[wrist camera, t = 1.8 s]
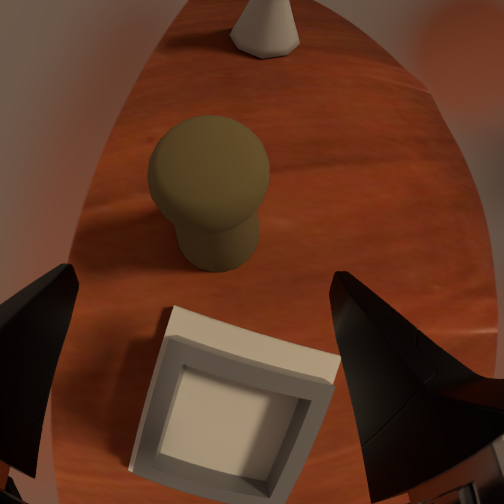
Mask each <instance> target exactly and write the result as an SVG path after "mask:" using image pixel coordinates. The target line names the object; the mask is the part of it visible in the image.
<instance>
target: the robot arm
mask: <svg viewBox="0 0 504 504" xmlns="http://www.w3.org/2000/svg"><path fill="white" fill-rule="evenodd" d="M78 290H79V282H78V279H77V276H76V273H75V270H74V267H73V266H72V265H71V264H60V265H59V266H57V267H56V268H54V269H52V270H51V271H49V272H48V273H46V274H44V275H43V276H41V277H40V278H38V279H37V280H35V281H34V282H32V283H31V284H29V285H28V286H26V287H25V288H23V289H22V290H20V291H19V292H18V293H16V294H15V295H14V296H12V297H11V298H9V299H8V300H6V301H5V302H4V303H2V304H1V305H0V504H28V503H26V502H24V501H23V500H22V498H21V496H20V494H19V492H18V490H17V488H16V486H15V484H14V481H13V479H12V478H11V477H9V476H8V474H9V469H10V467H12V468H13V469H15V470H17V471H19V472H21V473H23V474H25V475H27V476H29V477H32V478H35V476H36V468H37V460H38V459H37V458H38V452H39V445H40V439H41V433H42V426H43V421H44V416H45V411H46V407H47V402H48V398H49V393H50V389H51V385H52V381H53V377H54V374H55V370H56V366H57V363H58V359H59V356H60V353H61V349H62V346H63V343H64V340H65V337H66V334H67V331H68V328H69V324H70V321H71V317H72V313H73V309H74V305H75V301H76V297H77V293H78ZM329 298H330V304H331V311H332V318H333V325H334V331H335V337H336V341H337V345H338V349H339V352H340V356H341V360H342V364H343V368H344V372H345V376H346V381H347V385H348V389H349V393H350V397H351V402H352V406H353V411H354V415H355V420H356V424H357V429H358V434H359V439H360V444H361V447H362V448H361V449H362V455H363V460H364V465H365V471H366V476H367V482H368V488H369V494H370V500H371V503H372V504H373V503H377V502H380V501H383V500H387V499H390V498H393V497H396V496H399V495H402V494H405V493H408V495H409V500H410V503H407V504H504V379H493V378H486V377H483V376H480V375H478V374H476V373H474V372H473V371H472V370H470V369H469V368H468V367H466V366H465V365H463V364H462V363H461V362H459V361H458V360H457V359H455V358H454V357H453V356H451V355H450V354H449V353H447V352H446V351H445V350H443V349H442V348H441V347H439V346H438V345H437V344H435V343H434V342H433V341H432V340H431V339H429V338H428V337H427V336H426V335H425V334H423V333H422V332H421V331H420V330H417V328H416V327H415V326H414V325H413V324H412V323H410V322H409V321H408V320H407V319H406V318H404V317H403V316H402V315H401V314H400V313H398V312H397V311H396V310H395V309H393V308H392V307H391V306H390V305H389V304H387V303H386V302H385V301H384V300H383V299H381V298H380V297H379V296H378V295H376V294H375V293H374V292H373V291H371V290H370V289H369V288H368V287H366V286H365V285H364V284H363V283H361V282H360V281H359V280H358V279H356V278H355V277H354V276H353V275H351V274H350V273H349V272H347V271H337V272H335V274H334V276H333V280H332V283H331V287H330V291H329Z"/></svg>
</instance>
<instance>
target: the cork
mask: <svg viewBox="0 0 504 504" xmlns="http://www.w3.org/2000/svg"><path fill="white" fill-rule="evenodd" d="M147 177H148V184H149V189H150V194H151V198H152V199H153V201H154V202H155V204H156V205H157V207H158V209H159V210H160V212H161V213H162V214H163V216H164V217H165V218H167V219H168V220H169V221H171V222H172V223H173V224H174V226H175V232H176V237H177V240H178V244H179V248H180V250H181V252H182V253H183V255H184V256H185V257H186V259H187V260H188V261H189V262H191V263H192V264H193V265H195V266H196V267H197V268H200V269H203V270H206V271H209V272H226V271H229V270H232V269H235V268H237V267H239V266H240V265H242V264H243V263H244V262H246V261H247V260H248V259H249V258H250V256H251V255H252V253H253V252H254V251H255V249H256V246H257V243H258V240H259V221H258V214H257V209H258V207H259V206H260V205H261V204H262V202H263V199H264V196H265V193H266V190H267V187H268V184H269V181H270V168H269V160H268V157H267V154H266V152H265V149H264V147H263V144H262V142H261V141H260V140H259V139H258V138H257V136H256V135H255V134H254V133H253V132H252V131H251V130H250V129H249V128H247V127H245V126H244V125H242V124H240V123H239V122H237V121H235V120H233V119H230V118H226V117H222V116H218V115H210V116H198V117H195V118H191V119H187V120H185V121H183V122H181V123H179V124H178V125H176V126H174V127H173V128H171V129H170V130H169V131H168V132H167V133H166V134H165V135H164V136H163V137H162V138H161V139H160V141H159V142H158V143H157V145H156V147H155V149H154V151H153V153H152V155H151V157H150V160H149V167H148V174H147Z"/></svg>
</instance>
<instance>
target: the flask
mask: <svg viewBox="0 0 504 504" xmlns="http://www.w3.org/2000/svg"><path fill="white" fill-rule="evenodd" d="M229 36H230V37H231V39H232V40H233V42H234V43H235V45H236V47H237V48H238V49H239V50H242V51H244V52H247V53H249V54H252V55H254V56H256V57H259V58H261V59H264V58H270V57H277V56H284V55H288V54H289V53H290V52H291V51H293V50H294V49H295V48H296V47H297V46H298V45H299V44H300V43H299V38H298V34H297V31H296V27H295V23H294V20H293V15H292V11H291V7H290V3H289V0H250V1H249V2H248V4H247V6H246V8H245V9H244V11H243V13H242V15H241V16H240V18H239V19H238V21H237V23H236V24H235V26H234V28H233V29H232V31H231V33H230V35H229Z"/></svg>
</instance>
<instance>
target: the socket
mask: <svg viewBox="0 0 504 504" xmlns="http://www.w3.org/2000/svg"><path fill="white" fill-rule="evenodd" d="M340 361H341V356H339V355H336V354H332V353H328V352H324V351H320V350H317V349H313V348H309V347H305V346H302V345H298V344H294V343H291V342H287V341H284V340H280V339H277V338H273V337H270V336H267V335H263V334H260V333H257V332H253V331H250V330H247V329H244V328H241V327H237V326H234V325H231V324H228V323H225V322H222V321H219V320H216V319H213V318H210V317H207V316H204V315H201V314H198V313H196V312H193V311H190V310H187V309H184V308H182V307H179V306H174V307H173V310H172V313H171V316H170V319H169V323H168V326H167V329H166V332H165V335H164V338H163V342H162V345H161V348H160V352H159V355H158V358H157V362H156V365H155V368H154V372H153V375H152V379H151V382H150V386H149V389H148V393H147V396H146V400H145V404H144V408H143V411H142V415H141V419H140V423H139V427H138V431H137V435H136V439H135V443H134V447H133V451H132V455H131V460H130V464H129V468H128V470H129V471H131V472H132V473H133V474H135V475H138V476H140V477H143V478H145V479H148V480H151V481H153V482H156V483H159V484H162V485H164V486H167V487H170V488H173V489H176V490H180V491H183V492H186V493H189V494H193V495H196V496H200V497H204V498H208V499H212V500H216V501H220V502H224V503H229V504H285V502H286V500H287V498H288V497H289V495H290V493H291V491H292V489H293V487H294V485H295V483H296V481H297V479H298V476H299V474H300V472H301V470H302V468H303V466H304V464H305V462H306V459H307V457H308V455H309V453H310V450H311V448H312V446H313V443H314V441H315V439H316V436H317V434H318V432H319V429H320V427H321V424H322V422H323V419H324V417H325V414H326V411H327V409H328V406H329V403H330V401H331V398H332V395H333V392H334V390H335V387H336V386H334V385H333V382H334V379H335V376H336V373H337V370H338V367H339V364H340Z"/></svg>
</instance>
